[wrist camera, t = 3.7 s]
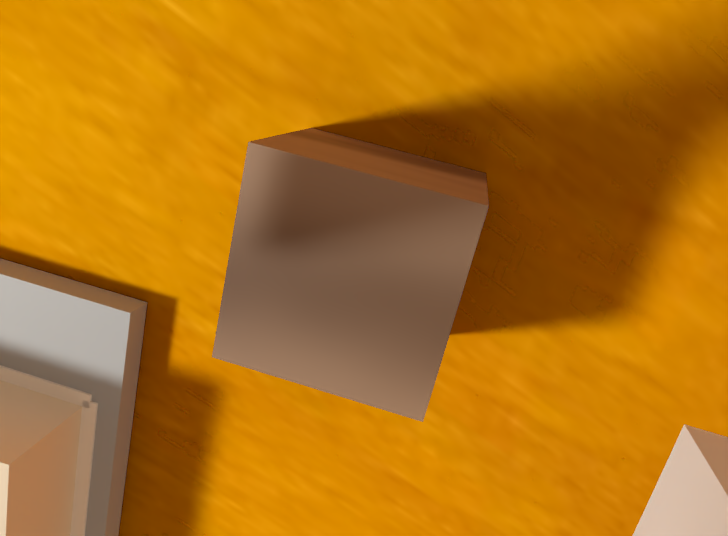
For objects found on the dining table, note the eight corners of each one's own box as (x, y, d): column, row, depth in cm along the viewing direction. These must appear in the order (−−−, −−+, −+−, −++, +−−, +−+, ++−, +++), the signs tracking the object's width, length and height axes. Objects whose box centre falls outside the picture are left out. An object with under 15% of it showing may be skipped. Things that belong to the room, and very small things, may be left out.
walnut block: (312, 127, 20) (248, 141, 15) (486, 172, 20) (488, 206, 14) (280, 289, 22) (211, 356, 17) (437, 335, 22) (422, 421, 16)
